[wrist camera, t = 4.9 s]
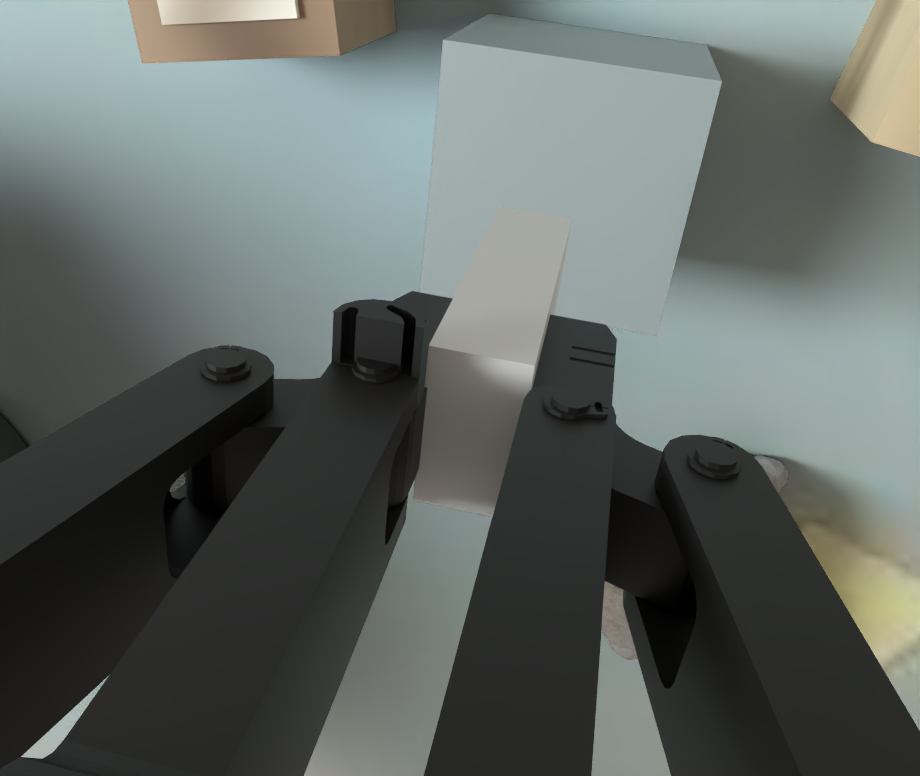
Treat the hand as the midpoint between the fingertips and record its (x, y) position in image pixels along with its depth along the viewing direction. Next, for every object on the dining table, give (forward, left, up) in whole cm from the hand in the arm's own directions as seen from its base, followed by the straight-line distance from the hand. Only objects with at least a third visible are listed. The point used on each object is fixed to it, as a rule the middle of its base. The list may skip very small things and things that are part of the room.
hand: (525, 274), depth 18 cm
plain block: (0, 0, -13) cm, 13 cm away
